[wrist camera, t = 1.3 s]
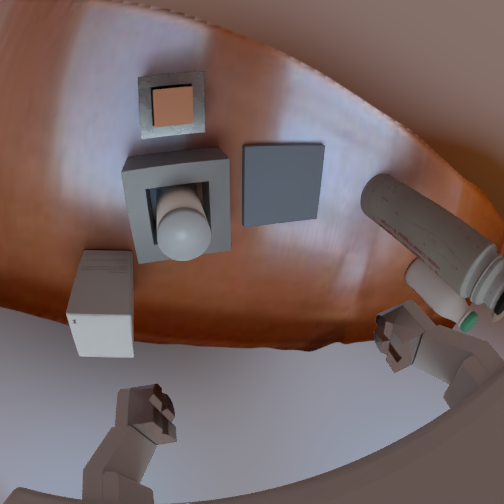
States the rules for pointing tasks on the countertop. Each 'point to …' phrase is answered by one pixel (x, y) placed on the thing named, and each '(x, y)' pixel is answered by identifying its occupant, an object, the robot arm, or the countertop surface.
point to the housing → (175, 173)
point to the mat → (280, 183)
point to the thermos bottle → (438, 240)
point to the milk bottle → (439, 295)
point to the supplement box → (103, 304)
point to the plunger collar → (166, 80)
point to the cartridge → (181, 222)
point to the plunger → (173, 106)
